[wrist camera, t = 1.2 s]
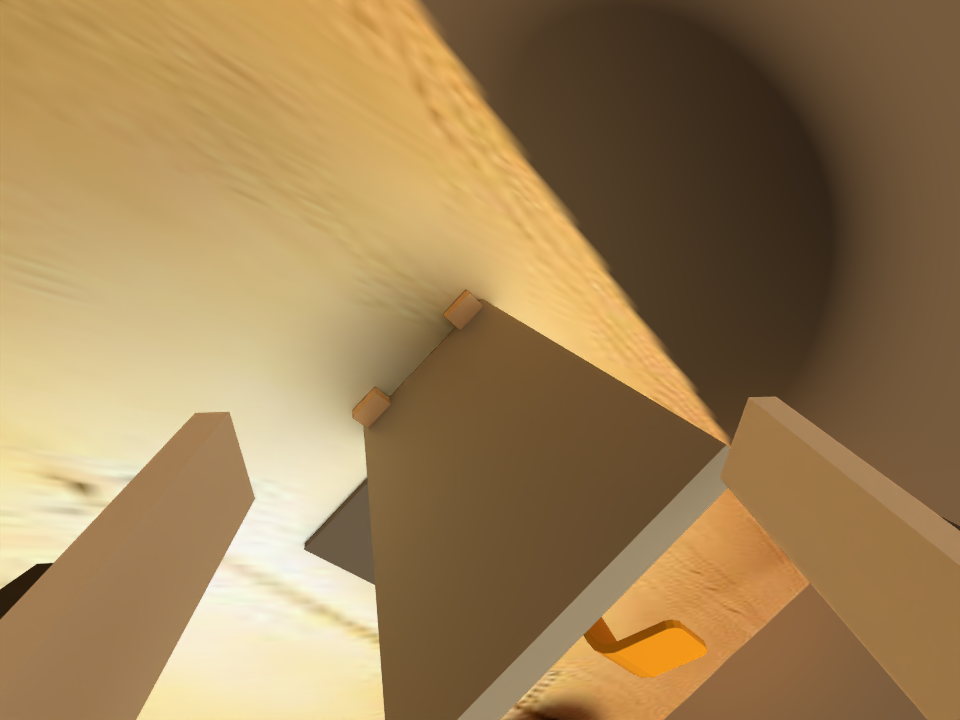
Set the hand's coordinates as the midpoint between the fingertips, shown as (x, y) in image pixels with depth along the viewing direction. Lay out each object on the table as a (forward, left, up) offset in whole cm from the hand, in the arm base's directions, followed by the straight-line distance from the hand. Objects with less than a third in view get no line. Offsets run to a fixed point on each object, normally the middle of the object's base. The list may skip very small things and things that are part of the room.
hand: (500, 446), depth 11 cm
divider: (+7, -3, -27) cm, 28 cm away
